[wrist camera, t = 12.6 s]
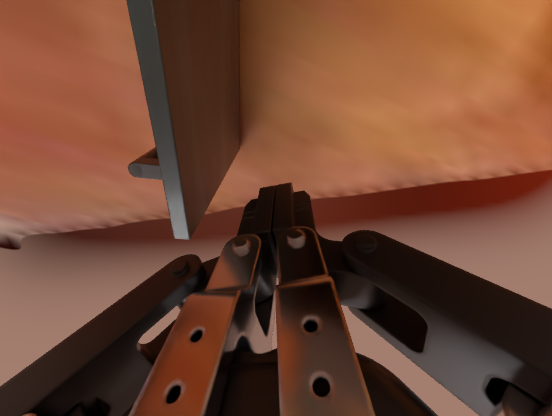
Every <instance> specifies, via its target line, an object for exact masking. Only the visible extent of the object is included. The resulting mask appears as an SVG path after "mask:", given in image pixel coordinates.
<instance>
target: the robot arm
mask: <svg viewBox="0 0 552 416" xmlns="http://www.w3.org/2000/svg"><path fill="white" fill-rule="evenodd" d="M277 277H278V278H279V285H276V278H277ZM341 305H344V306H348V308H349V310H350V311H351V312H352V313H353V314H354V315H355V316H356V317H357V318H359V319H360V320H361V321H363V322H364V323H365V324H366V325H368V326H369V327H370V328H371V329H373V330H374V331H375V332H376V333H378V334H379V335H380V336H381V337H382V338H384V339H385V340H386V341H387V342H389V343H390V344H391V345H392V346H394V347H395V348H396V349H397V350H399V351H400V352H401V353H402V354H403V355H405V356H406V357H407V358H408V359H410V360H411V361H412V362H413V363H415V364H416V365H417V366H418V367H420V368H421V369H422V370H423V371H425V372H426V373H427V374H428V375H430V376H431V377H432V378H433V379H435V380H436V381H437V382H438V383H440V384H441V385H442V386H443V387H444V388H446V389H447V390H448V391H450V392H451V393H452V394H453V395H454V396H456V397H457V398H458V399H459V400H461V401H462V402H463V403H464V404H466V405H467V406H468V407H469V408H471V409H472V410H473V411H474V412H476V413H477V414H478V415H479V416H552V309H551V308H548V307H546V306H544V305H541V304H539V303H537V302H535V301H533V300H530V299H528V298H526V297H523V296H521V295H519V294H517V293H514V292H512V291H510V290H508V289H505V288H503V287H501V286H499V285H496V284H494V283H492V282H489V281H487V280H485V279H483V278H480V277H478V276H476V275H473V274H471V273H469V272H466V271H464V270H462V269H460V268H458V267H455V266H453V265H451V264H448V263H446V262H444V261H442V260H439V259H437V258H435V257H432V256H430V255H428V254H426V253H424V252H421V251H419V250H416V249H414V248H412V247H410V246H408V245H405V244H403V243H401V242H399V241H396V240H394V239H392V238H389V237H387V236H385V235H383V234H380V233H378V232H375V231H370V230H360V231H356V232H352V233H350V234H348V235H347V236H346V237H345V238H344V239H343V241H332V240H328V239H325V238H323V237H321V236H320V235H319V234H318V233H317V232H316V229H315V224H314V218H313V212H312V207H311V201H310V195H309V194H307V193H306V192H305V191H298V192H294V191H293V186H292V183H285V184H279V185H276V186H275V185H274V186H269V187H263V188H260V191H259V195H258V199H253V200H251V201H250V202H249V203H248V204H247V205H246V206H245V209H244V214H243V217H242V220H241V223H240V227H239V230H238V234H237V236H236V237H235V238H233V239H231V240H230V241H228V242H227V243H226V245H225V246H224V248H223V250H222V252H221V255H220V256H219V257H216V258H214V259H211V260H209V261H206V262H203V263H202V262H201V260H200V258H199V257H198V256H196V255H192V254H189V255H184V256H181V257H179V258H177V259H175V260H173V261H172V262H170V263H169V264H167V265H166V266H165V267H163V268H162V269H161V270H159V271H158V272H156V273H155V274H154V275H153V276H151V277H150V278H148V279H147V280H145V281H144V282H143V283H141V284H140V285H139V286H137V287H136V288H135V289H133V290H132V291H130V292H129V293H128V294H127V295H125V296H124V297H122V298H121V299H119V300H118V301H117V302H115V303H114V304H113V305H111V306H110V307H109V308H107V309H106V310H104V311H103V312H102V313H101V314H99V315H98V316H96V317H95V318H94V319H92V320H91V321H89V322H88V323H87V324H85V325H84V326H83V327H81V328H80V329H78V330H77V331H76V332H74V333H73V334H72V335H70V336H69V337H67V338H66V339H65V340H63V341H62V342H61V343H59V344H58V345H56V346H55V347H54V348H52V349H51V350H50V351H48V352H47V353H46V354H44V355H43V356H42V357H40V358H39V359H37V360H36V361H35V362H33V363H32V364H31V365H29V366H28V367H26V368H25V369H24V370H22V371H21V372H20V373H18V374H17V375H15V376H14V377H13V378H11V379H10V380H9V381H7V382H6V383H4V384H3V385H2V386H0V416H438V415H437V414H436V413H435V412H434V411H433V410H431V409H430V408H429V407H428V406H427V405H426V404H425V403H424V402H423V401H422V400H421V399H420V398H419V397H418V396H417V395H416V394H415V393H414V392H413V391H411V390H410V389H409V388H408V387H407V386H406V385H405V384H404V383H403V382H402V381H401V380H400V379H399V378H398V377H396V376H395V375H394V374H393V373H392V372H390V371H389V370H388V369H386V368H385V367H384V366H382V365H381V364H379V363H377V362H376V361H374V360H372V359H370V358H368V357H366V356H364V355H361V354H359V353H356V352H355V349H354V346H353V343H352V339H351V336H350V333H349V330H348V327H347V323H346V320H345V317H344V314H343V311H342V307H341ZM175 306H178V307H179V309H180V310H181V311H180V313H179V315H178V317H177V319H176V320H174V321H173V322H172V323H171V324H170V325H169V326H168V327H167V328H166V329H164V330H163V331H162V332H161V333H160V334H159V335H158V336H157V337H156V338H155V339H154V340H152V341H151V342H149V343H147V344H140V343H138V341H139V339H140V337H141V336H142V335H143V334H144V333H145V332H146V331H148V330H149V329H150V328H151V327H152V326H153V325H155V324H156V323H157V322H158V321H159V320H160V319H161V318H163V317H164V316H165V315H166V314H167V313H168V312H170V311H171V310H172V309H173V308H174V307H175ZM275 311H276V324H277V348H276V349H274V350H272V335H273V327H274V319H275Z"/></svg>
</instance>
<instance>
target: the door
mask: <svg viewBox="0 0 552 416" xmlns="http://www.w3.org/2000/svg"><path fill="white" fill-rule="evenodd" d="M127 5H128V10H129V15H130V20H131V25H132V30H133V35H134V40H135V45H136V50H137V55H138V60H139V65H140V70H141V75H142V80H143V85H144V90H145V95H146V100H147V105H148V110H149V115H150V120H151V125H152V130H153V135H154V140H155V145H156V147H155V148H153V149H152V150H150V151H149V152H147V153H146V154H144V155H142V156H141V157H139V158H138V159H136V160H135V161H133V162H132V163H130V164H129V166H128V170H129V172H130V174H131V175H133V176H134V177H138V178H147V179H159V180H163V185H164V190H165V195H166V200H167V205H168V210H169V215H170V220H171V225H172V229H173V234H174V238H176V239H187V240H189V239H191V237H192V235H193V233H194V231H195V229H196V227H197V226H198V224H199V222H200V220H201V219H202V217H203V215H204V213H205V211H206V209H207V208H208V206H209V204H210V202H211V200H212V199H213V197H214V195H215V193H216V191H217V189H218V188H219V186H220V184H221V182H222V180H223V179H224V177H225V175H226V173H227V171H228V169H229V168H230V166H231V164H232V162H233V160H234V159H235V157H236V155H237V153H238V151H239V149H240V59H239V0H127Z"/></svg>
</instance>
